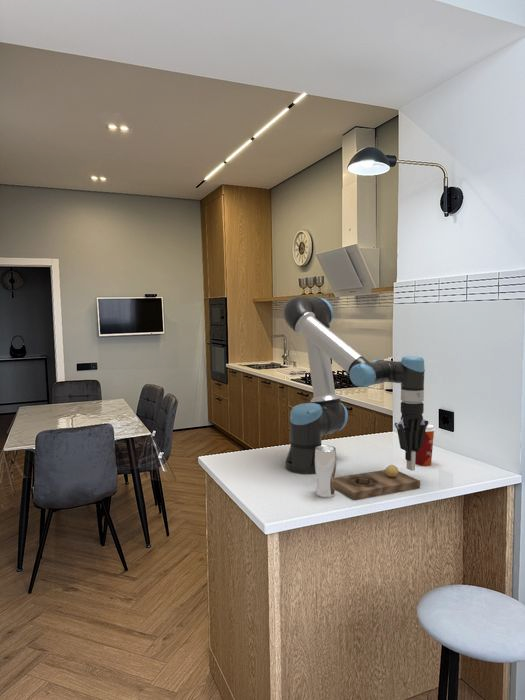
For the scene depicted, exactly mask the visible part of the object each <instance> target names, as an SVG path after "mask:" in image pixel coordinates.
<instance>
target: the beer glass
mask: <svg viewBox="0 0 525 700" xmlns="http://www.w3.org/2000/svg"><path fill="white" fill-rule="evenodd" d="M337 460H338V459H337V449H336V447H335V446H333V445H325V444H324V445H323V444H322V445H321V446H317V447H316V448H315V471H316V473H315V477H316V489H315V495H316V496H317V497H320V498H325V499H327V498H332V497H334V496H336V495H335V494H336V492H335V489H334V478H336V477H335V476H336V470H337Z"/></svg>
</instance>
